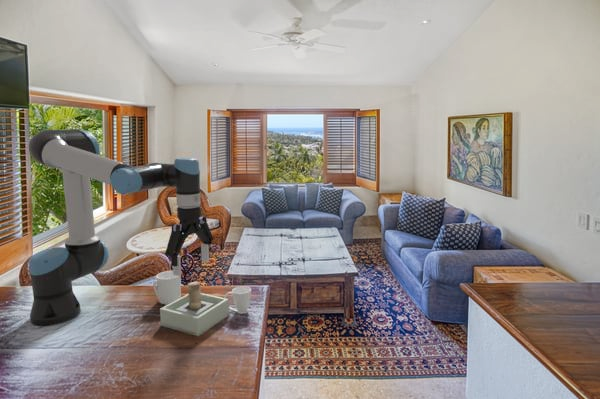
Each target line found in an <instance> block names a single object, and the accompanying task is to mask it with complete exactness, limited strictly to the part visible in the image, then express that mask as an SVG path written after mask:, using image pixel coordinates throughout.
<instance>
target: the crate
mask: <svg viewBox="0 0 600 399" xmlns="http://www.w3.org/2000/svg"><path fill="white" fill-rule="evenodd" d="M229 302H230V300H229V298H224V297H221V296H217V295H212V294H207V293H203V292H201V307H202V308H201V309H199V310H198V311H192V310H189V296H188V293H186V294H185V295H183V296H181V298H179V299H177V300H175V301H173V302H172V303H170V304H168V305H164V306H163V307H160V308H159V313H160V314H159V315H160V326H162V327H165V328H168V329H170V330H176V331H179V332H182V333H184V334H185V333H186V334H189V335H193V336H195V337H200V336H201V335H203V334H204V333H205V332H207V331H209V330H210V329H211V328H212V327H214V326H216V325H217V324H218V323H220V322H221V321H222V320H223V321H224V319H226V318H228V317H229V316H230V308H229V306H230V303H229Z"/></svg>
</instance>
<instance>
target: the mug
mask: <svg viewBox="0 0 600 399" xmlns="http://www.w3.org/2000/svg"><path fill="white" fill-rule="evenodd" d="M152 287H153V291H154V293H155V295H156V297H157V298H158V303H161V305H163V304H164V306H166V305H168V304H170V303H172V302H173V301H175V300H177V299H179V298H181V297H182V275H181V276H177V275H173V270H166V271H162V272H159V273H158V274H156V275H155V280H154V282H153V286H152Z"/></svg>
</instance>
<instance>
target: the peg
mask: <svg viewBox="0 0 600 399" xmlns="http://www.w3.org/2000/svg"><path fill="white" fill-rule="evenodd" d="M187 291H188V292H187V294H188V296H189V310H192V311H198V310H199V309H201V308H202V307H201V293H202V292H201V283H200V282H199V281H192V282H189V283H188V284H187Z"/></svg>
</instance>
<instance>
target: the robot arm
mask: <svg viewBox="0 0 600 399" xmlns="http://www.w3.org/2000/svg"><path fill="white" fill-rule="evenodd" d="M28 152H29V154H30V156H31V158H32V159H33V160H34V161H35V162H37V163H38V164H40V165H42V166H44V167H48V168H51V169H58V170H59V171H60V172H61V173H62V181H63V192H64V200H65V210H66V220H67V230H68V232H67V233H68V237H67V239H65V241H64V247H62V246H56V247H51V248H47V249H44V250H41V251H38V252H36V253H35V254H32V256H31V257H30V259H29V263H28V264H29V265H28V266H29V267H28V268H29V269H28V273H29V276H30V282H31V288H32V289H31V290H32V295H33V302H32V306H31V310H30V314H29V319H30V323H31V325H33V326H39V327H47V326H54V325H58V324H63V323H66V322H68V321H70V320H72V319H75V318H76V317H78V316H79V315H80V313H81V312H82V310H81V309H82V308H81V304H80V302H79V300H78V298H77V296H76V294H75V293H74V291H73V281H76V280H78V279H81V278H83V277H85V276H88V275H90V274H94V273H96V272H97V271H99V270H101V269H103V268H104V266H106V264H107V263H108V260H109V250H108V247H107V246H106V243H104V242H103V241H102V240H101V237H100V236H98V235H97V234H96V231H95V219H94V209H93V208H94V207H93V196H92V184H91V179H92V180H95V181H99V182H101V183H104V184H107V185H109V186H111V188H112V189H113V190H114V191H115V192H116V194H117V193H118V194H120V195H127V194H128V195H129V194H130V195H131V194H135V193H138V192H143V191H147V190H152V189H157V188H161V187H163V188H165V187H166V188H175V193H176V194H175V195H176V196H175V197H176V198H175V199H176V206H177V208H176V213H177V214H176V215H177V219H178V221H179V223H178V224H174V223H173V224H171V232H170V236H169V239H168V243H167V246H166V249H165V254H164V255H165V256H168V257H170V261H171V262H170V263H171V266H172V271H173V275H177V276H181V277H182V266H181V265H182V263H181V255H179V254H180V252H181V251H182V247H183V245H184V243H185V241H186V239H188V237H189V236H191V235H193V234H195V235H196V236H197V238H199V240H200V241H201V242H202V243H200V251H201V252H200V254H201V262H202V263H204V264H208V263H210V254H209V253H210V245H212V244H213V241H214V236H213V234H212V231H211V229H210V227H209V224H208V220H207V219H208V218H207V217H206V216H202V206H200V205H201V186H200V185H201V184H200V183H201V180H200V173H201V171H200V163H199V162H200V161H199V160H198V159H197V158H194V157H178V158H175V159H174V163H159V162H152V163H151V162H150V163H147V164H145V165H140V166H137V165H136V166H134V165H130V164H127V163H123V162H121V161H118V160H115V159H111V158H109V157H105V156H102V155H100V152H101V148H100V144H99V141H98V139H97V138H96V136H94V134H92V133H91V132H90V131H88V130H85V129H77V128H73V129H72V128H71V129H46V130H41V131H39V132H37V133H35V134H34V135H33V136H32V137H31V138H30V140H29V143H28Z"/></svg>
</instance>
